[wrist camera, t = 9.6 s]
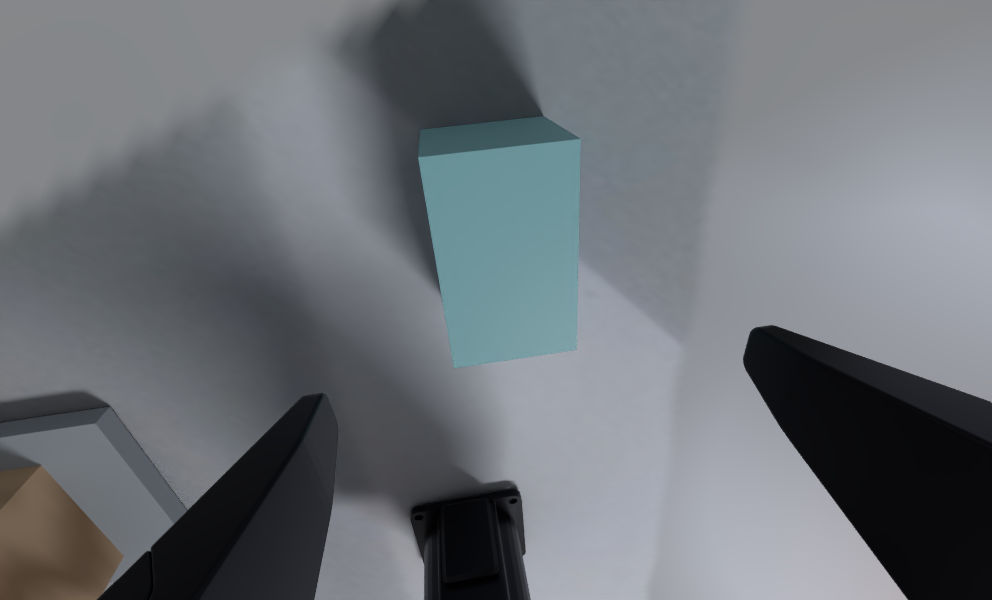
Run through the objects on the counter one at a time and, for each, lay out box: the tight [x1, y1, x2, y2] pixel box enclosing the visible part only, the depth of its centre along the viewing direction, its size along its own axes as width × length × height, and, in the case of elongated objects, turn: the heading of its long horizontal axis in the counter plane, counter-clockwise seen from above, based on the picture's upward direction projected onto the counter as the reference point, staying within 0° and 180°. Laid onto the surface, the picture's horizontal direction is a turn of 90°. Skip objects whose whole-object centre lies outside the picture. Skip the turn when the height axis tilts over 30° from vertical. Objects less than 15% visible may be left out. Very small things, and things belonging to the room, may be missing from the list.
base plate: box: [0, 407, 187, 582], centre depth 21 cm, size 11×11×1 cm
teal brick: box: [418, 116, 581, 368], centre depth 15 cm, size 7×4×4 cm, turn 5°
